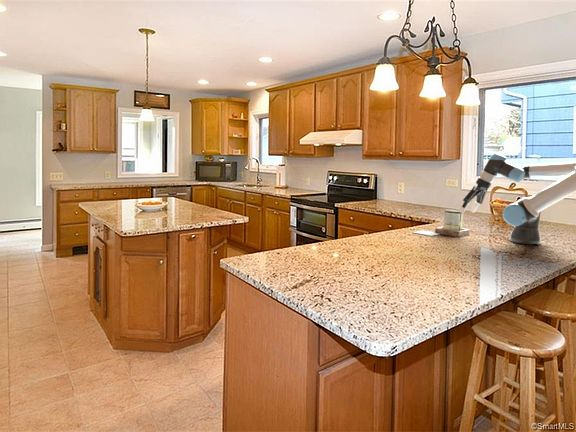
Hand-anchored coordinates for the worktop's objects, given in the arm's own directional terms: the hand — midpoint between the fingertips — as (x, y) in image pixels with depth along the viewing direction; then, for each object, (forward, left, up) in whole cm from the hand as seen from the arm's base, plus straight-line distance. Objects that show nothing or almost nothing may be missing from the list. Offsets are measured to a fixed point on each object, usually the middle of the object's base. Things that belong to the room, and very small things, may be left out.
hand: (466, 212), depth 240 cm
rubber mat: (+17, +13, -14) cm, 25 cm away
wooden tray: (+8, -1, -14) cm, 16 cm away
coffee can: (+8, -1, -14) cm, 16 cm away
